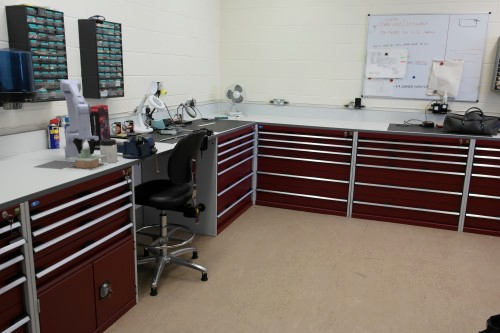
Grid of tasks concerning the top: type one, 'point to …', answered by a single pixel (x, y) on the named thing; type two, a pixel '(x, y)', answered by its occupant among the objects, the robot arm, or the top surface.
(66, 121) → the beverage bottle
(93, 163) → the bowl
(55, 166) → the mat
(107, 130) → the graphics card box
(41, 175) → the top surface
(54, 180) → the top surface
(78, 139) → the robot arm
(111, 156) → the jar
